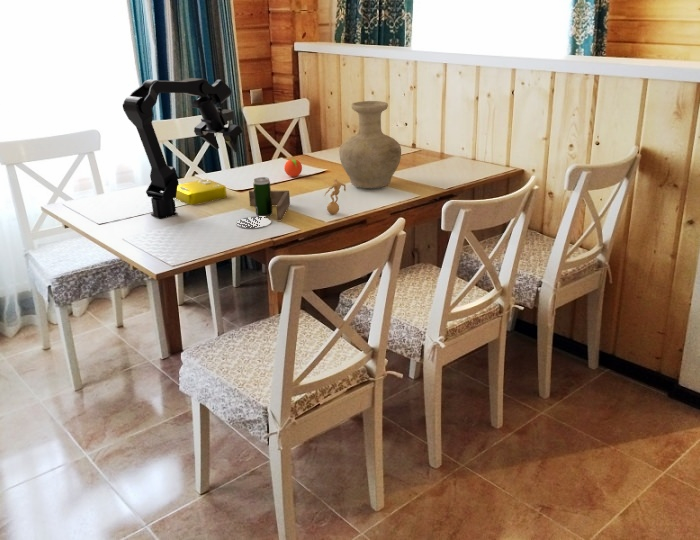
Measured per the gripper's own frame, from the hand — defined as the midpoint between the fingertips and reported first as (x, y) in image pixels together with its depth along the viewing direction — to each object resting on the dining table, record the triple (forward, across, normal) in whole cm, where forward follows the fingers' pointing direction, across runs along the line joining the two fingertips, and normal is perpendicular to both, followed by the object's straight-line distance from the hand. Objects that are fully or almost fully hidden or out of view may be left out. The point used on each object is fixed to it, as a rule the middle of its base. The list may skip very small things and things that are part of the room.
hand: (227, 150), depth 244 cm
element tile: (+11, +6, +15) cm, 20 cm away
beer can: (+9, -28, +18) cm, 35 cm away
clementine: (+26, -5, -20) cm, 34 cm away
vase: (+28, -38, -24) cm, 54 cm away
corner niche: (+10, -27, +16) cm, 33 cm away
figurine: (+14, -48, +7) cm, 50 cm away
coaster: (+6, -31, +25) cm, 41 cm away
